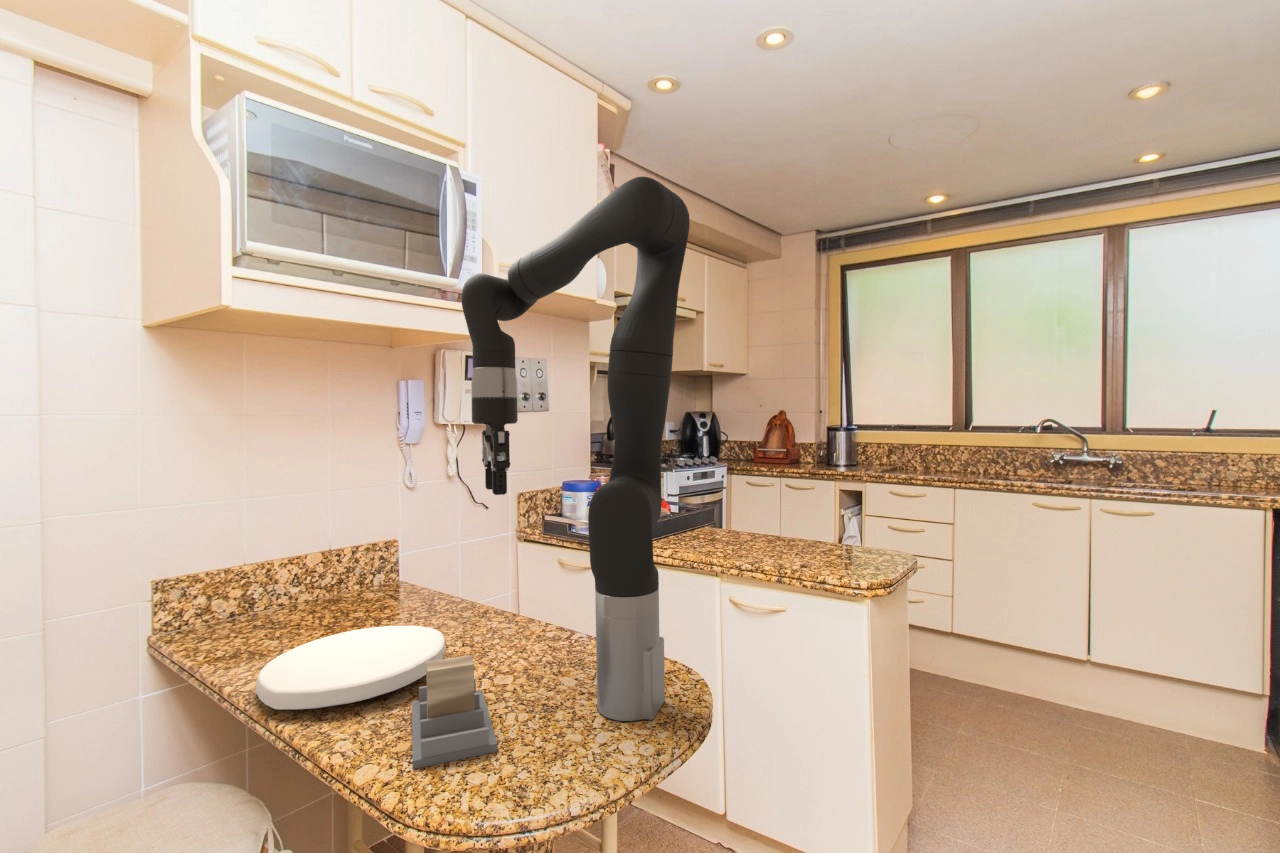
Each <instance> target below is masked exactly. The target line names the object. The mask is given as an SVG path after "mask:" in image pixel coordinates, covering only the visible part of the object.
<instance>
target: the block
mask: <svg viewBox="0 0 1280 853" xmlns="http://www.w3.org/2000/svg"><path fill="white" fill-rule="evenodd" d="M425 677H426V678H425V679H426V686H427V719H428V718H434V717H439V716H445V715H450V714H456V713H462V712H467V711H473V710H475V694H474V678H475V663H474V660H473V656H472V654H468V655H462V656H455V657H448V658H442V659H441V660H434V661H427V662H426V675H425Z"/></svg>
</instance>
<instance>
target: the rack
mask: <svg viewBox="0 0 1280 853" xmlns="http://www.w3.org/2000/svg"><path fill="white" fill-rule="evenodd" d="M476 681H477V680H476V677H474V694H475V710H473V711H467V712H462V713H456V714H450V715H445V716H439V717H434V718H428V719H427V685H422V686H418V697H419V698H418V700H413V701H411V718H412V719H411V721H412V722H411V726H412V728H411V729H412V730H411V731H412V734H411V735H412V737H411V738H412V740H411V742H412V770H415V769H420V768H426V767H430V766H435V765H439V764H444V763H449V762H455V761H459V760H463V759H469V758H474V757H477V756H483V755H487V754H488V755H489V754H493V753H497V752H498V743H497V738H496V734H495V731H494V728H493V724H492V720H491V716H490V713H489V710H488V706H487V702H486V699H485V695H484V690H483V689H478V690H476V689H477V685H476V684H477V682H476Z"/></svg>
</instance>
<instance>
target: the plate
mask: <svg viewBox="0 0 1280 853" xmlns="http://www.w3.org/2000/svg"><path fill="white" fill-rule="evenodd" d="M445 653H446V639H445V636H444V635H443V632H441V631H440V630H438V629H436V628H432V627H427V626H422V625H421V626H420V625H387V626H386V625H384V626H383V625H382V626H375V627H367V628H366V627H365V628H360V629H354V630H347V631H343V632H340V633H335V634H331V635H328V636H324V637H321V638H318V639H314V640H312V641H308V642H306V643H304V644H301V645H298V646H296V647H294V648H292V649H290V650H288V651H286V652H283V653H282V654H279V655H278V656H277V657H274V658H273V659H272V660H270V661H269V662H267V663H266V664H265V665H264V666H263V668H262V669H261V670H260V671H259V672H258V675H257V678H256V681H255V693H256V695H257V697H258V699H259V700H260V701H261V702H262V703H263V704H264V705H266V706H267V707H270V708H272V709H274V710H276V711H278V710H282V711H283V710H286V711H287V710H291V711H292V710H293V711H294V710H295V711H296V710H311V709H320V708H327V707H333V706H339V705H340V706H341V705H347V704H352V703H356V702H361V701H364V700H369V699H373V698H375V697H378V696H381V695H385V694H389V693H390V692H394V691H397V690H399V689H401V688H403V687H406V686H408V685H410V684H412V683H414V682H415V681H417V680H419V679H421V678H423V677H424V676H426V662H427V661H434V660H441V659H444V655H445Z"/></svg>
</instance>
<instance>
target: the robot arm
mask: <svg viewBox="0 0 1280 853" xmlns="http://www.w3.org/2000/svg"><path fill="white" fill-rule="evenodd" d="M690 225H691V222H690V212H689V209H688V207H687V205H686V203H685V202H684V200H683V199H682V198H681V197H680V196H679V195H678V194H676V193H675V192H673V191H672V190H671V189H669V188H668V187H666V186H665V185H664V184H662V183H661V182H660V181H658V180H656V179H654V178H651V177H648V176H636V177H634V178H631V179H629V180H627V181H626V182H624V183H622V184H621V185H620V186H618V187H617V188H615V189H614V190H613V191H611V193H609V194H608V195H607V196H606V197H604V199H602V200H601V201H600V202H599V203H597V204H596V206H594V207H593V208H591V209H590V210H589V211H588V212H587V213H585V214H584V215H583V216H581V218H579V219H578V220H577V221H576V222H574V223H573V224H571V226H569V227H568V228H567V229H566V230H565V231H563V232H562V233H561V234H559V235H558V236H557V237H554V238H553V239H552V240H550V241H548V242H546V243H545V244H543V245H542V246H540V247H537V248H536V249H534V250H532V251H531V252H529V253H527V254H524V255H523V256H522V257H520V258H518V259H516V260H515V261H513V262H512V263H511V265H510V266H509V268H508V271H507V278H501V277H498V276H494V275H491V274H486V273H480V272H479V273H474V274H472V275H471V276H469V278H467V279H466V281H465V283H464V284H463V287H462V291H461V307H462V311H463V316H464V320H465V322H466V327H467V330H468V334H469V337H470V341H471V344H472V374H471V381H470V382H471V385H470V387H471V389H470V390H471V422H472V423H473V424H474V425H485V429H482V431H481V443H482V444H481V445H482V446H481V447H482V449H481V451H482V452H481V455H482V458H481V460H482V464H483V467H484V473H485V474H484V475H485V479H484V480H485V481H484V483H485V489H487V490H492V493H493V495H495V496H500V495H503V496H504V495H506V494H507V493H508V479H507V477H508V474H507V472H508V470H509V469H510V467H511V459H510V458H511V457H510V431H509V430H505V429H506V428H505V425H508V424H509V425H512V424H516V423H518V381H517V374H516V372H517V371H516V344H515V339H514V338H513V336H511V335H509V333H506V332H505V331H503V330H502V329H501V326H500V324H499V321H501V322H509V321H512V320H515V319H517V318H520V317H521V316H522V315H524V314H525V313H527V311H528V310H529V309H530V308H531V307H533V306H535V304H536V303H537V302H538V300H540V299H543V298H545V297H547V296H549V295H551V294H553V293H555V292H557V291H558V290H560V289H562V288H564V287H565V286H568V285H569V284H570V283H571V282H573V281H574V280H575V279H576V278H577V277H578V276H579V274H581V272H582V271H583V270H584V268H585V266H586V265H587V264H588V263H589V262H590V261H591V260H592V259H593V258H594V257H595V256H597V255H599V254H601V253H602V252H604V251H606V250H609V249H612V248H615V247H617V246H621V245H624V244H629V245H630V246H632V247H634V248H635V249H637V250H636V252H637V262H636V275H635V282H634V283H635V284H634V286H633V288H634V289H633V290H632V294H631V298H630V299H629V301H628V303H627V306H626V307H625V309H624V311H623V313H622V314H621V317H620V318H619V320H618V322H617V324H616V326H615V328H614V331H613V333H612V336H611V340H610V347H609V353H608V354H609V355H608V365H607V366H608V367H607V397H608V405H609V413H610V417H611V422H612V430H613V438H614V439H613V445H614V446H613V454H612V455H613V456H612V462H611V469H610V476H609V479H608V481H607V482H606V483H604V484H603V485H600V487H599V488H598V489H597V490H595V492H594V494H593V495H592V497H591V499H590V502H589V506H588V507H589V508H588V514H587V516H588V518H587V519H588V521H587V522H588V525H587V526H588V544H589V545H588V546H589V563H590V569H591V572H592V575H593V578H594V588H595V589H594V592H595V594H594V595H595V597H594V598H595V649H596V650H595V653H596V654H595V657H596V662H595V663H596V705H597V706H596V708H597V711H598V712H599V714H600V715H602V716H603V717H604V718H607V719H611V720H614V721H621V722H633V721H634V722H636V721H640V720H650V721H651V720H654V718H655V717H656V715H657V714H658V712H659V711H660V709H661V708H662V706H663V704H665V702H666V696H665V695H666V691H665V690H666V689H665V688H666V687H665V686H666V684H665V678H666V677H665V638H664V636H660V594H659V593H660V591H659V590H660V589H659V586H660V585H659V584H660V582H659V577H660V575H659V571H658V568H657V566H656V565H655V562H654V561H655V560H654V547H653V546H654V545H653V544H654V542H653V529H655V526H657V523H658V522H659V520H660V517H661V512H662V508H663V507H662V506H663V504H662V503H663V502H662V443H663V435H664V429H665V425H666V420H667V419H666V418H667V411H668V404H669V397H670V396H669V395H670V388H671V380H672V372H673V371H672V370H673V359H674V358H673V357H674V342H675V340H674V339H675V328H676V318H677V309H678V308H677V307H678V298H679V297H678V296H679V287H680V281H681V276H682V271H683V265H684V261H685V255H686V251H687V245H688V240H689V233H690Z"/></svg>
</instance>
